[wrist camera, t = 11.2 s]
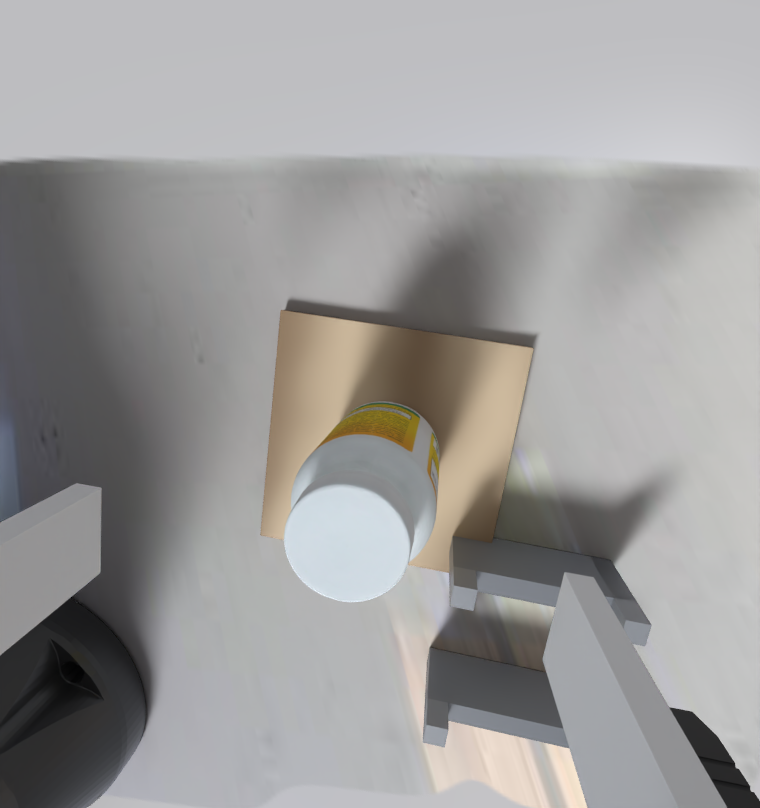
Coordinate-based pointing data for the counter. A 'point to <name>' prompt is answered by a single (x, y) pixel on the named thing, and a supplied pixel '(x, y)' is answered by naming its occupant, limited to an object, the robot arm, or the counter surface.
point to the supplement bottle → (364, 503)
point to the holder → (502, 683)
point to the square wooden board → (407, 385)
